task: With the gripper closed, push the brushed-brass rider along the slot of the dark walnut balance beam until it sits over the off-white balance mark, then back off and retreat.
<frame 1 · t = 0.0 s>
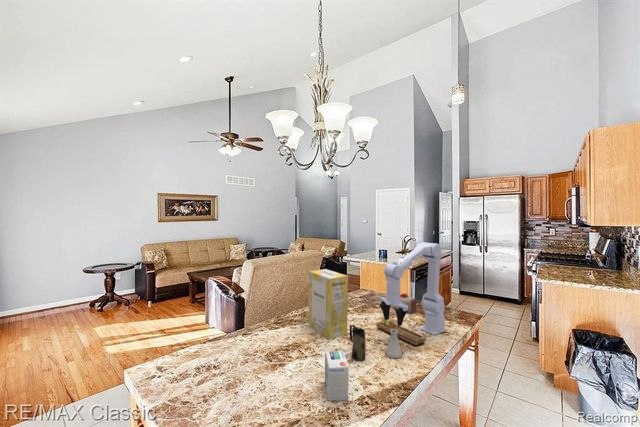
hand: (393, 322, 129), 10 cm above the table, fingers open, 7 cm apart
flask: (393, 355, 121), on the table
mug: (356, 357, 119), on the table
pasta box: (327, 330, 145), on the table
rider: (387, 322, 145), point 4 cm above the table, slide at -7.5 cm
light bulb box: (336, 391, 97), on the table
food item: (404, 310, 173), on the table
beam: (399, 335, 139), on the table
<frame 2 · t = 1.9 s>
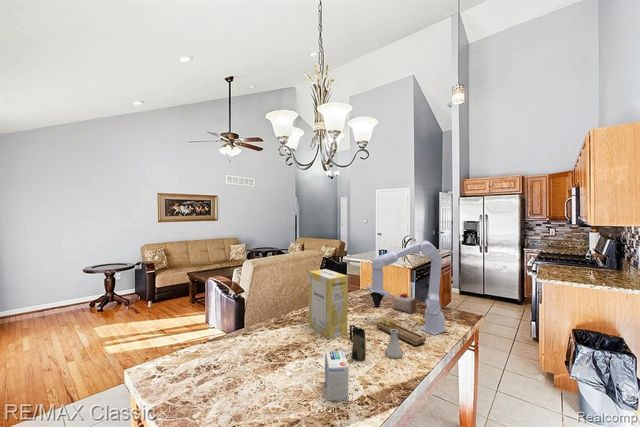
hand: (377, 307, 151), 9 cm above the table, fingers closed
nothing on the table moved.
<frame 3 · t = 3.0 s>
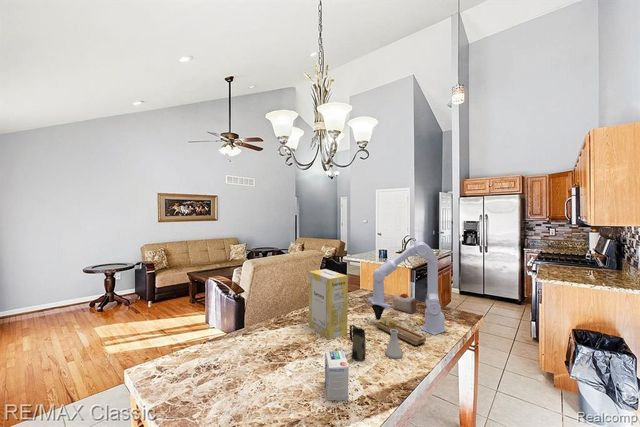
hand: (378, 319, 150), 3 cm above the table, fingers closed
nothing on the table moved.
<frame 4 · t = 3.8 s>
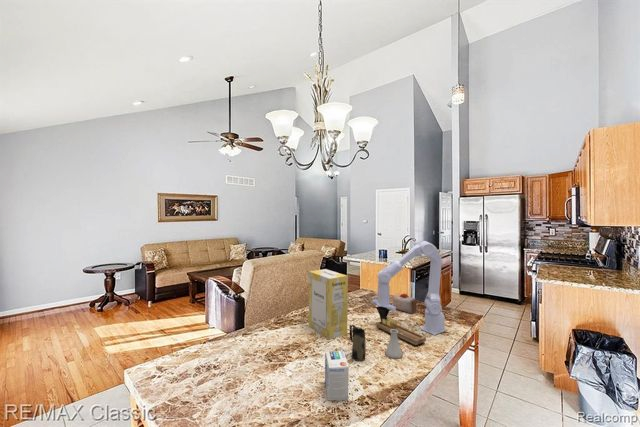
hand: (383, 321, 147), 3 cm above the table, fingers closed
rider: (389, 322, 144), point 4 cm above the table, slide at -6.7 cm, touching gripper
everything else where it was.
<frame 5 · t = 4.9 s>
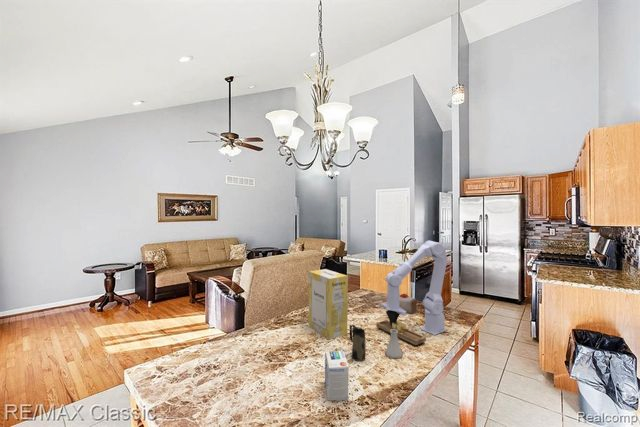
hand: (393, 325, 142), 3 cm above the table, fingers closed
rider: (399, 327, 139), point 4 cm above the table, slide at -0.3 cm, touching gripper
everything else where it was.
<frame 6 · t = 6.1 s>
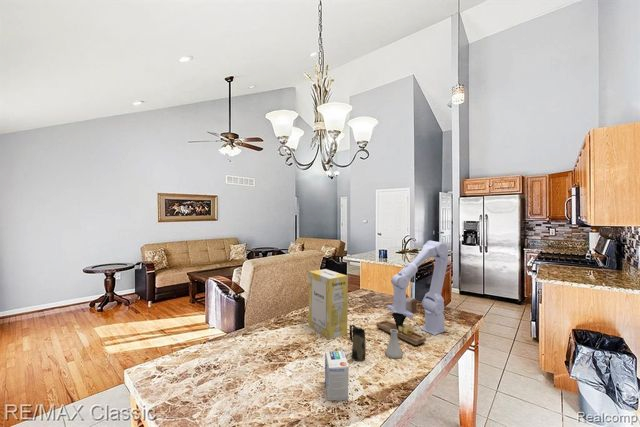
hand: (399, 328, 139), 3 cm above the table, fingers closed
rider: (405, 330, 135), point 4 cm above the table, slide at 3.6 cm, touching gripper
everything else where it was.
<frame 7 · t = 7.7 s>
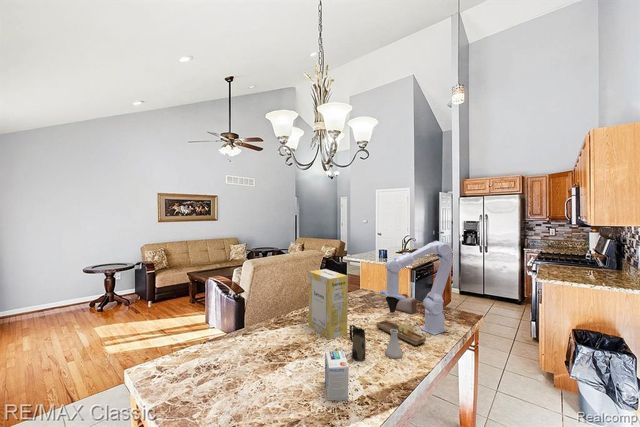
hand: (392, 312, 143), 9 cm above the table, fingers closed
rider: (405, 330, 135), point 4 cm above the table, slide at 3.6 cm
everything else where it was.
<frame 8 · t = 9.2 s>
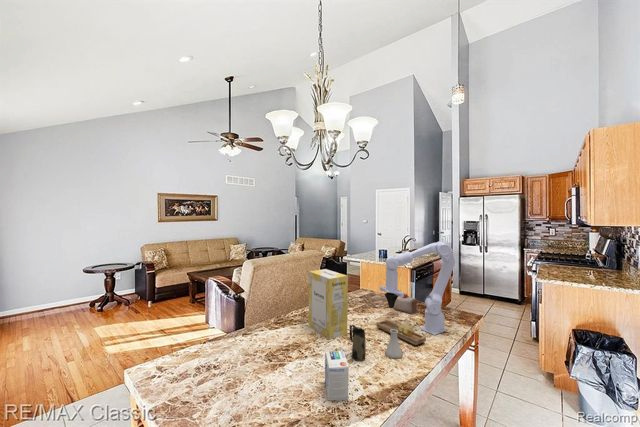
hand: (391, 307, 148), 10 cm above the table, fingers closed
nothing on the table moved.
at the end: rider slide at 3.6 cm; rider 0.1 cm from the target spot, point 3.8 cm above the table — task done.
